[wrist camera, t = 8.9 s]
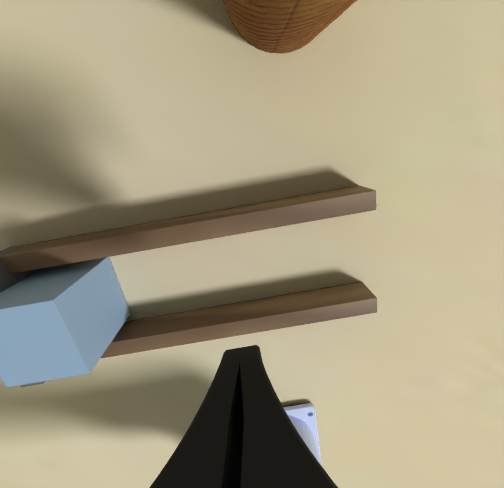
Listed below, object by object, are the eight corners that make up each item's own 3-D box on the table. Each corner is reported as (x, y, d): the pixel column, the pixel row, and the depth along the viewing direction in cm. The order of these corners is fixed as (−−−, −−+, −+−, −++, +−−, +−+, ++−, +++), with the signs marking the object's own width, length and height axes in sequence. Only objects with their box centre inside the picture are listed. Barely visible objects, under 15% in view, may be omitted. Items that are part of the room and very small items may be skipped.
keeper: (130, 313, 21) (89, 373, 15) (69, 323, 21) (6, 387, 15) (108, 256, 19) (52, 300, 14) (42, 267, 19) (-40, 316, 14)
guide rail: (362, 295, 21) (388, 326, 17) (59, 345, 22) (21, 387, 18) (359, 185, 18) (390, 194, 14) (8, 247, 19) (-51, 272, 15)
